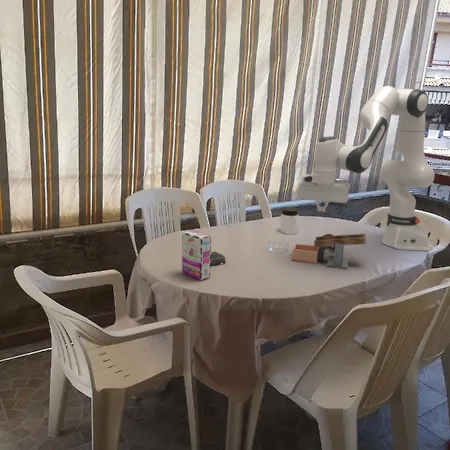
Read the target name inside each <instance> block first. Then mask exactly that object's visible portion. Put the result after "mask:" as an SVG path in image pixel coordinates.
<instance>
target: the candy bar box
mask: <svg viewBox="0 0 450 450" xmlns="http://www.w3.org/2000/svg"><path fill="white" fill-rule="evenodd" d="M181 234H182V236H181V242H182V243H181V247H182V248H181V249H182V250H181V253H182V255H181V257H182V258H181V265H182V266H181V268H182V269H181V273H182V272H183V273H182V274H184V273H185V274H184V275H186V274H187V275H186V276H188V275H190V276H189V277H191V276H192V277H191V278H193V277H194V279H196V278H197V279H196V280H198V279H199V280H198V281H200V280H202V281H205V280H208V279H210V278H211V265H210V255H211V253H212V251H211V250H212V249H211V246H212V240H211V239H212V236H211V235H208V234H205V233H201V232H199V231H196V230H191V229H190V230H185V231H182V232H181ZM207 278H208V279H207ZM204 279H205V280H204Z"/></svg>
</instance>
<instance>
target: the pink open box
mask: <svg viewBox="0 0 450 450" xmlns="http://www.w3.org/2000/svg"><path fill="white" fill-rule="evenodd" d="M318 255H319V247H315V245H312V244H311V245H310V244H303V243H295V244H294V245H293V249H292V255H291V261H293V262H299V263H300V262H301V263H308V264H318Z"/></svg>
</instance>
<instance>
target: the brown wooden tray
mask: <svg viewBox="0 0 450 450" xmlns="http://www.w3.org/2000/svg"><path fill="white" fill-rule="evenodd" d="M322 236H323V235H322ZM322 236H315V239H314V240H313V244H314V245H313V246H315V247H323V246H332V247H333V246H335V243H343V245H344V246H355V245H366V241H367V240H366V233H358V234H356V233H355V234H342V235H341V234H340V235H333V236H323V237H322Z"/></svg>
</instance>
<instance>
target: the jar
mask: <svg viewBox="0 0 450 450" xmlns="http://www.w3.org/2000/svg"><path fill="white" fill-rule="evenodd" d="M281 209H282V210H281V215H280V226H279V230H280V231H279V232H280V233H282V234H285V235H296V234H298V231H299V219H300V218H299V217H300V214H299V208H296V207H288V206H287V207H282V208H281Z"/></svg>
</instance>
